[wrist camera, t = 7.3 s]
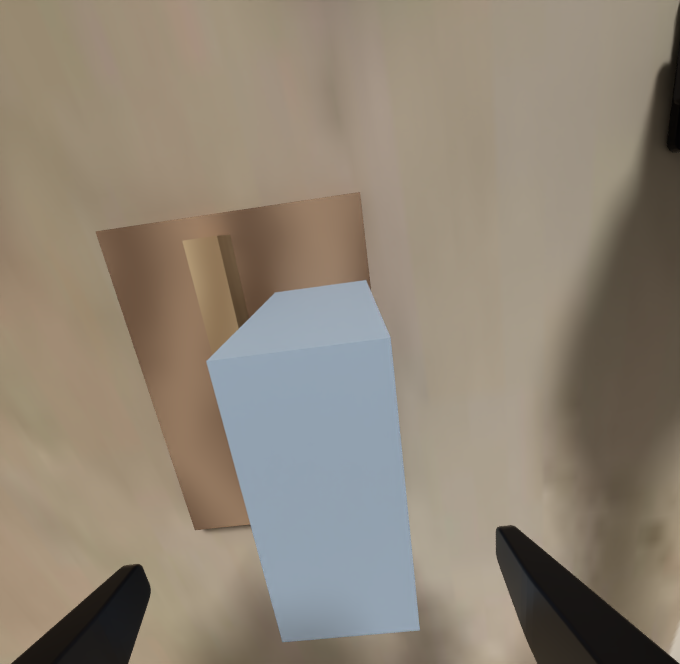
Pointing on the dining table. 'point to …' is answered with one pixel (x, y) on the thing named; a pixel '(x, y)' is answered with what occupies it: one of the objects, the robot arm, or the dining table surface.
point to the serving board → (219, 315)
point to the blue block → (321, 461)
